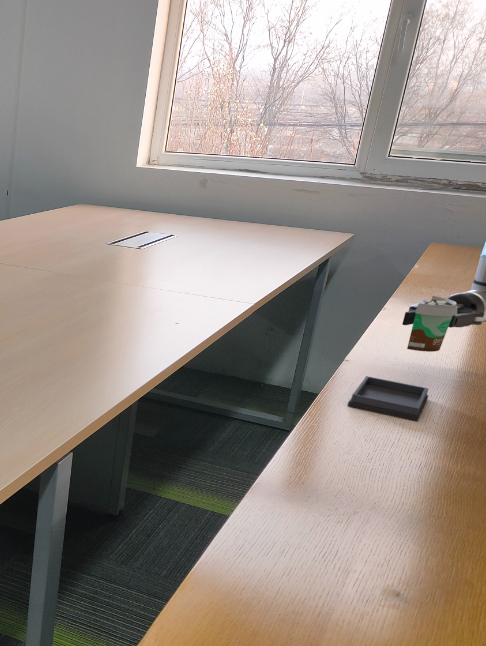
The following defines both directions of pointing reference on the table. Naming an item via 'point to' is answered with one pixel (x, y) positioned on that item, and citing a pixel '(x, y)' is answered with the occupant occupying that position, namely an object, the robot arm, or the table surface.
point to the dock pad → (390, 398)
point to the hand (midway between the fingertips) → (412, 320)
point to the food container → (431, 324)
